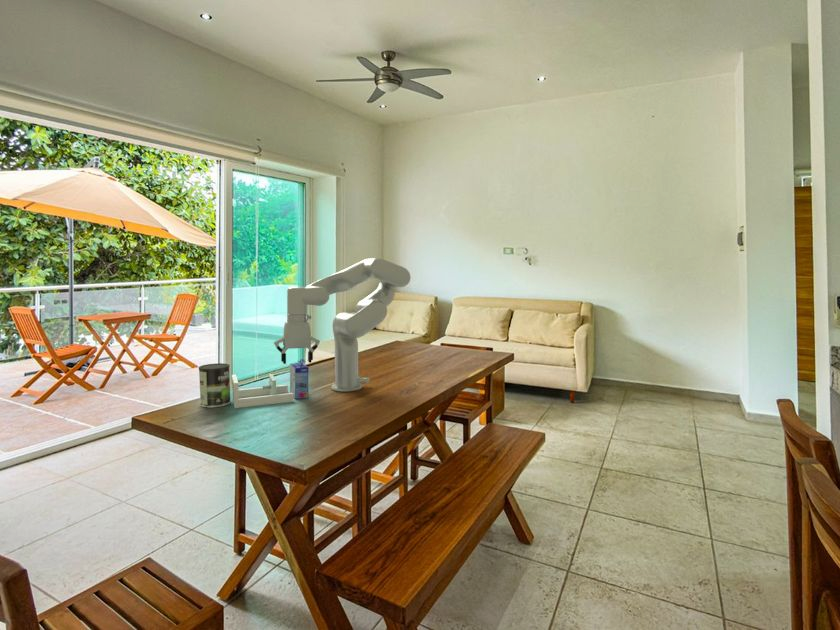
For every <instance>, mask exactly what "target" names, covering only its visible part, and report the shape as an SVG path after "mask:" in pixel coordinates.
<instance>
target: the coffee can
mask: <svg viewBox="0 0 840 630" xmlns="http://www.w3.org/2000/svg"><path fill="white" fill-rule="evenodd" d="M198 372H199V373H198V374H199V375H198V376H199V379H198V380H199V392H200V393H199V397H200V405H199V406H200V407H202V408H206V407H207V409H208V408H209V409H210V408H220V407H225V406H228V405H230V404H231V383H230V381H231V379H230V378H231V377H230V364H228V363H222V362H221V363H220V362H219V363H207V364H203V365H200V366H198Z"/></svg>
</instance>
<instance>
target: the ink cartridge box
mask: <svg viewBox="0 0 840 630" xmlns="http://www.w3.org/2000/svg"><path fill="white" fill-rule="evenodd" d="M304 361H305V359H303V358H301V359H300V360H299V362H294V363H290V365H289V368H290V369H289V393H293V399H295V400H298V399H299V400H300V399H309V368H310V367H309V366H307V365H306V364H304Z"/></svg>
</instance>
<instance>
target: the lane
mask: <svg viewBox="0 0 840 630" xmlns="http://www.w3.org/2000/svg"><path fill="white" fill-rule="evenodd" d="M231 391H232V396H231V397H232V402H233V406H234V407H233V408H234V409H238V408H239V409H240V408H249V407H256V406H266V405H274V404H275V405H276V404H283V403H291V402H294V397H293V393H290V392H289V387H288V384H282V385H280V384H279V385H276V395H270V394H269V389H266V390H263V386H261V387H251V388H249V387H248V388H241V389H239V381H238V377H237V374H231Z"/></svg>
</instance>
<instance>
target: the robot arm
mask: <svg viewBox="0 0 840 630" xmlns="http://www.w3.org/2000/svg"><path fill="white" fill-rule="evenodd" d="M372 279H374V280H375V279H377V280H379V283H378V285H377V286H378V287H377V288H376V289H375V290H374V291H373V292H372V293H370V294H369V295H367V296H365V297H364V298H363V299H361V300H359V302H357V304H356V305H355V307H354V313H352V312H347V311H345V312H339V313H337V314H336V315H335V317H334V318H333V321H332V333H333V338H334V383H333V384H332V385H331V390H333V391H335V392H341V393H342V392H343V393H345V392H346V393H347V392H354V391H355V392H356V391H359V390H361V389H363V383H370V377H360V376H359V344H358V343H359V342H358V339H360V338H361V337H364V336H365V335H366V334H367V335H368V333H369V332H370V331H372V330H373V329H375V328H376V327H378V326H379V325H380V324H381V323H382V322H383V321H384V320H385V319H386V317H387V314H388V306H390V304H391V303H392V302H393V300H394V298H395V295H396V288H404V287H406V286H407V285H408V284H409V283H410V281H411V273H410V272H409V270H408V269H407V268H406V267H404V266H402V265H399V264H396V263H394V262H391V261H388V260H386V259H383V258H380V257H371V258H370V257H369V258H365V259H363V260H361V261H359V262H356V263H354V264H353V265H351V266H349V267H347V268H344V269H343V270H340V271H338V272H336V273H332V274H330V275H329V276H326V277H323V278H322V279H318V280H317V281H314V282H312V283H311V284H308V285H307V286H289V287H288V288H287V291H286V292H287V293H286V295H287V296H286V300H287V301H286V304H287V307H286V309H287V311H286V316H287V317H286V319H287V320H286V321H285V322H284V327H283V335H282V336H283V337H281V338H278V339H277V340H275V341H273V344H274V346H275V347H276V349H277V350H278V351H279V352H280V353H281V354H280V355H281V356H280V357H281V358H280V359H281V362H282V363H283V365H286V364H287V353H286V352H287V351H288V349H308V352H307V353H308V354H307V361H308V363H312V361H313V360H314V353H315V351H316V349H317V348H318V346H319V345H320V343H321V341H320V340H319V339H317V338H315V337H313V336H312V335H311V333H312V332H311V325H310V322H309V320H311V319H312V316H311V315H310V314H308V306H317V307H319V306H320V307H321V306H324V305H326V304H327V303H328V302H329V300H330V296H331V295H333V294H336V293H342V292H348V291H350V290H351V291H352V290H353V289H355V288H357V287H358V286H361V285H363V284H364V283H366V282H368V281H370V280H372ZM312 342H314V344H313V346H312ZM281 343H282V345H283V347H281V346H280V344H281Z"/></svg>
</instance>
